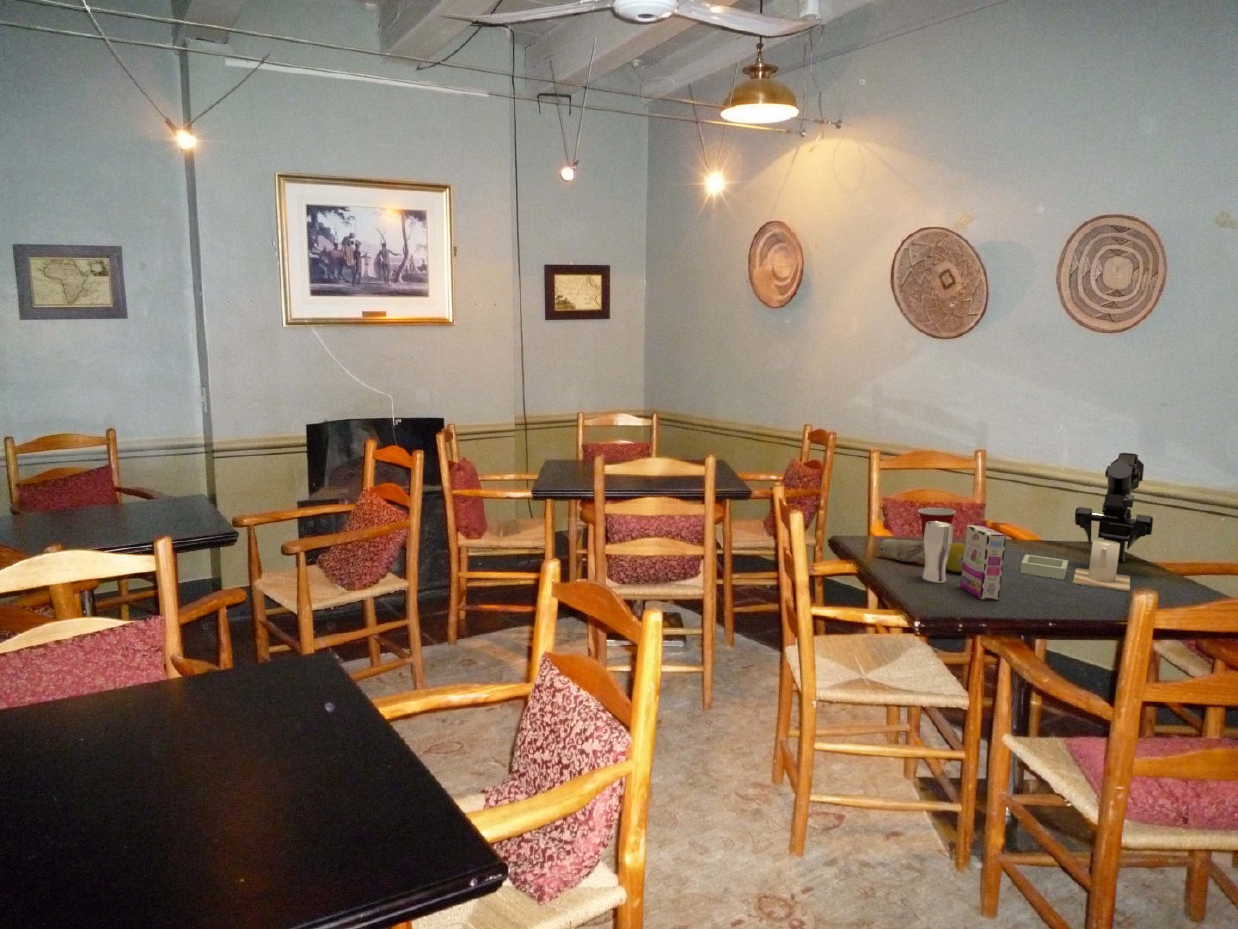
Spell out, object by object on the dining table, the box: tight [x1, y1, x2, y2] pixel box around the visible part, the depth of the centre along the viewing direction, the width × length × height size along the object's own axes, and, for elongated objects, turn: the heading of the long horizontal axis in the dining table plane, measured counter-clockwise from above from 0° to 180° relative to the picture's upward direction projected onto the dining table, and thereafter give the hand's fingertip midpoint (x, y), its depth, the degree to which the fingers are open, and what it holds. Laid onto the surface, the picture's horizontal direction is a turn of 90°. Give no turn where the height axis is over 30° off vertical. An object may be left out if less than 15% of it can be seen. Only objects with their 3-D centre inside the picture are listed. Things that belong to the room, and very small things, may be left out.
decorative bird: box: [877, 538, 925, 563], centre depth 244 cm, size 5×16×8 cm, turn 52°
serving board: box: [1072, 567, 1131, 593], centre depth 232 cm, size 16×13×1 cm
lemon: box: [946, 542, 965, 573], centre depth 235 cm, size 11×8×8 cm
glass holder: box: [1020, 554, 1069, 581], centre depth 238 cm, size 11×11×3 cm
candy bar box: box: [960, 524, 1007, 601], centre depth 215 cm, size 11×5×16 cm, turn 5°
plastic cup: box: [917, 507, 957, 541], centre depth 260 cm, size 11×11×12 cm
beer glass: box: [921, 521, 954, 584], centre depth 226 cm, size 7×7×15 cm
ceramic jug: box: [1088, 538, 1120, 582], centre depth 230 cm, size 8×6×10 cm
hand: (1108, 545), depth 237 cm, fingers open, 9 cm apart
